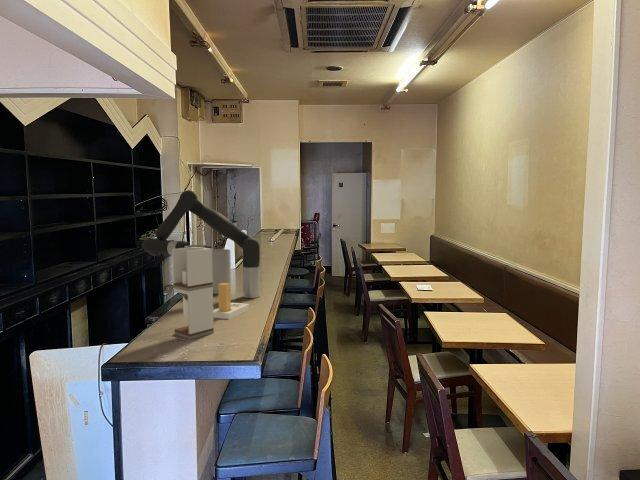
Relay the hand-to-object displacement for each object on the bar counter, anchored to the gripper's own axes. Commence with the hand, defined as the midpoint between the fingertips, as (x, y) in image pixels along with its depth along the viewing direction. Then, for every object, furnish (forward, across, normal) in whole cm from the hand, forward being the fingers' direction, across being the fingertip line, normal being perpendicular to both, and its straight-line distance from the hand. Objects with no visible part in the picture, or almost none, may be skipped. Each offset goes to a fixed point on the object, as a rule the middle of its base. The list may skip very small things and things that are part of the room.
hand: (206, 249), depth 227 cm
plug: (+16, -11, +30) cm, 35 cm away
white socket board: (+16, -6, +30) cm, 35 cm away
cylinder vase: (-15, +37, +30) cm, 50 cm away
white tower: (+18, -39, +30) cm, 53 cm away
